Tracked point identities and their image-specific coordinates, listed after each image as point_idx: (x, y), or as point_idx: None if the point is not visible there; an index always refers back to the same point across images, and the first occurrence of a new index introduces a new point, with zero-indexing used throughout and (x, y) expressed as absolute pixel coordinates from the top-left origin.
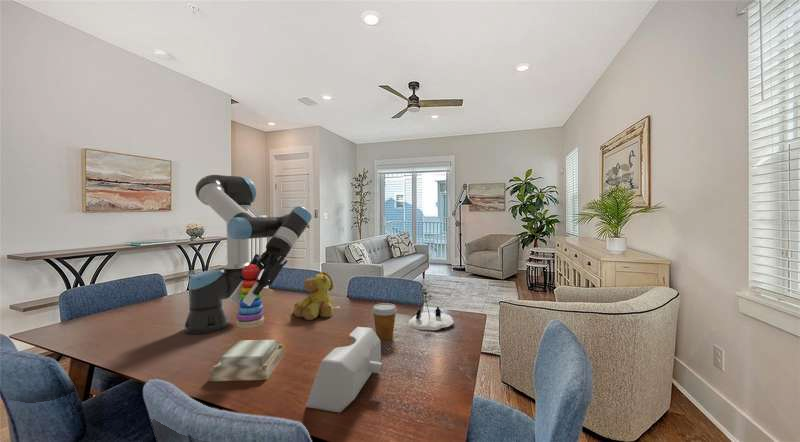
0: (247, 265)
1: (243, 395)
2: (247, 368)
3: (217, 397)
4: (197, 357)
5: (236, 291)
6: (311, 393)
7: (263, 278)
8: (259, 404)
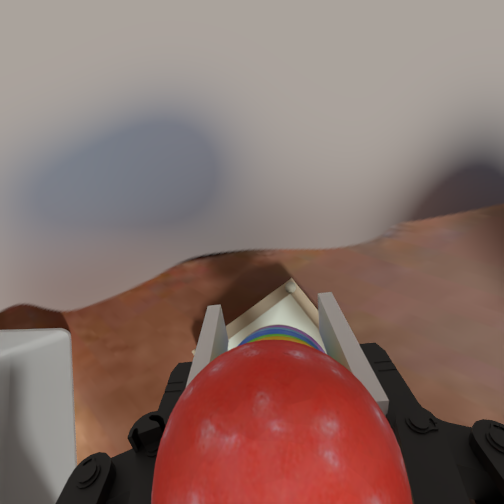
0: (276, 430)
1: (192, 293)
2: (233, 328)
3: (225, 266)
4: (439, 319)
5: (331, 328)
6: (32, 329)
7: (130, 497)
8: (146, 294)
